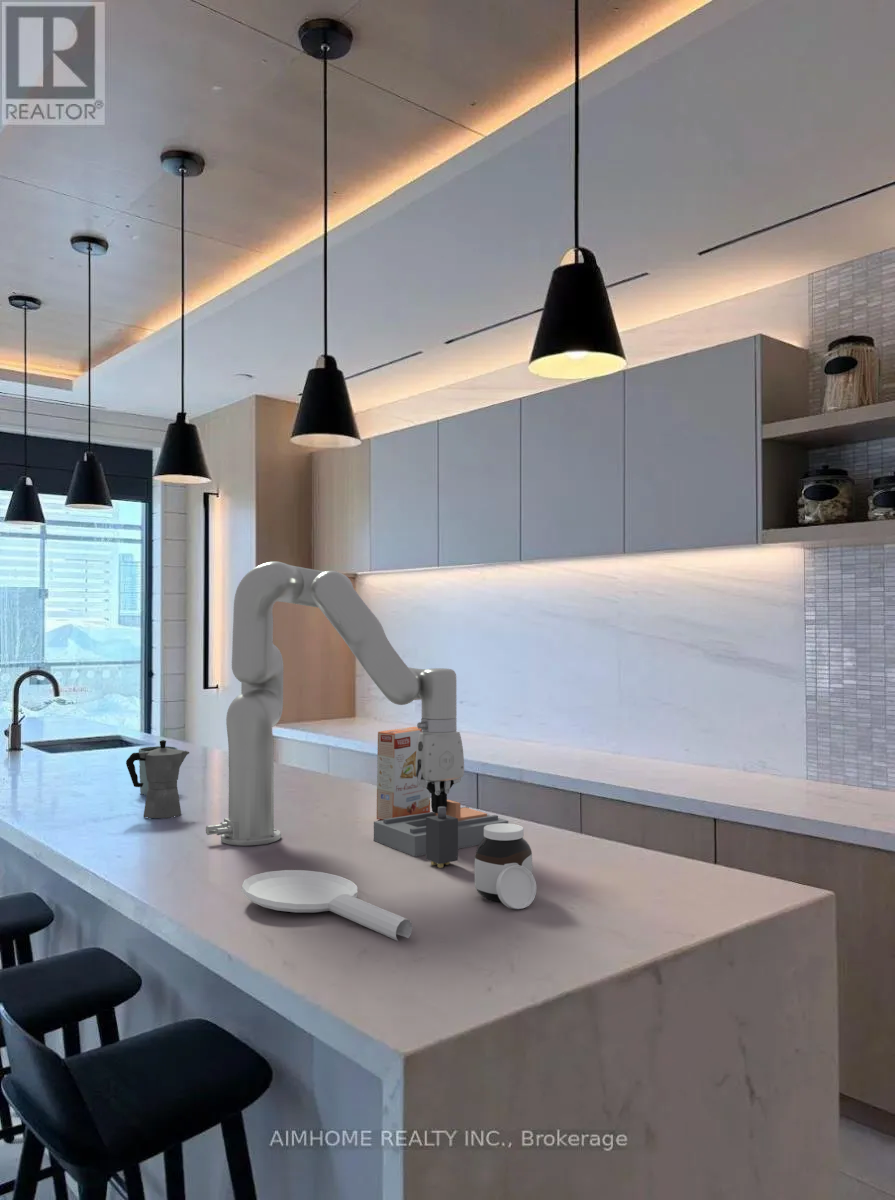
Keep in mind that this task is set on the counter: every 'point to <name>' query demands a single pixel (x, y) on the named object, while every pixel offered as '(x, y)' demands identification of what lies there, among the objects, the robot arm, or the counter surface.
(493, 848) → the spread jar
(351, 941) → the counter surface
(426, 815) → the socket block
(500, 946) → the counter surface
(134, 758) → the coffeepot
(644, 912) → the counter surface
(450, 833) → the plug
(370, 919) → the frying pan
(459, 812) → the tan l-shaped bracket
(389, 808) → the cracker box
